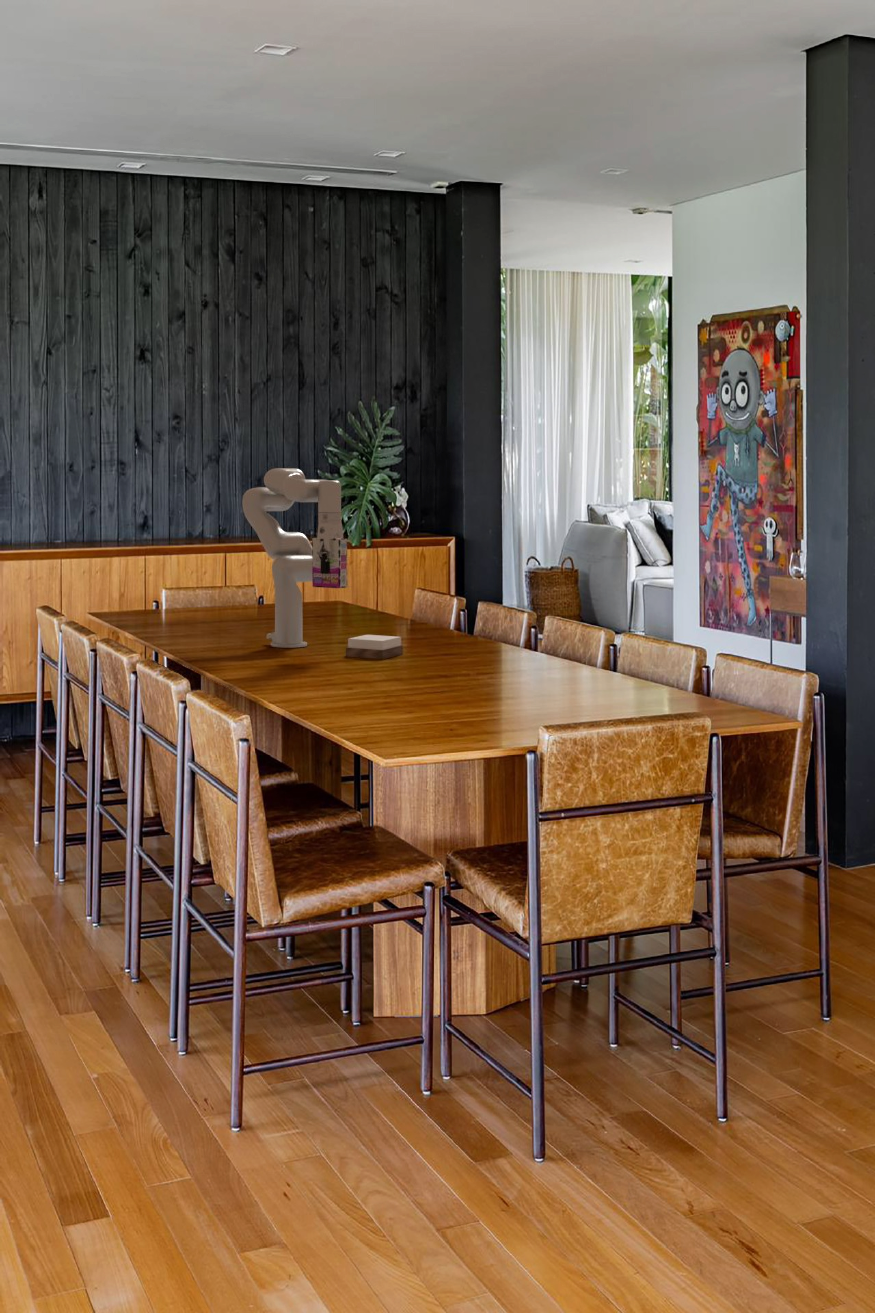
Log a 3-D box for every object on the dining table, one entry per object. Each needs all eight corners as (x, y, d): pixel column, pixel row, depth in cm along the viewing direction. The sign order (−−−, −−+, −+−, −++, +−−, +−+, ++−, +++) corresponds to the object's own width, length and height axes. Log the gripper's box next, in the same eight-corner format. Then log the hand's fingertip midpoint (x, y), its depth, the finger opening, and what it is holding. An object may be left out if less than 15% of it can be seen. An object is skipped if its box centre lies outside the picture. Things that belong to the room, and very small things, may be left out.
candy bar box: (348, 587, 470) (348, 538, 468) (340, 588, 466) (340, 538, 463) (319, 586, 475) (319, 537, 473) (311, 587, 471) (311, 537, 469)
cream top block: (348, 647, 469) (348, 638, 469) (367, 643, 481) (367, 634, 480) (382, 650, 463) (382, 640, 463) (401, 645, 475) (401, 636, 475)
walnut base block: (345, 658, 469) (345, 647, 469) (366, 653, 482) (366, 643, 481) (383, 660, 463) (383, 650, 463) (402, 655, 476) (402, 645, 475)
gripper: (326, 518, 458) (326, 575, 461) (352, 517, 473) (352, 571, 476) (306, 518, 462) (306, 574, 464) (333, 517, 477) (333, 571, 479)
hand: (329, 572), depth 470 cm, fingers closed on candy bar box, 5 cm apart
